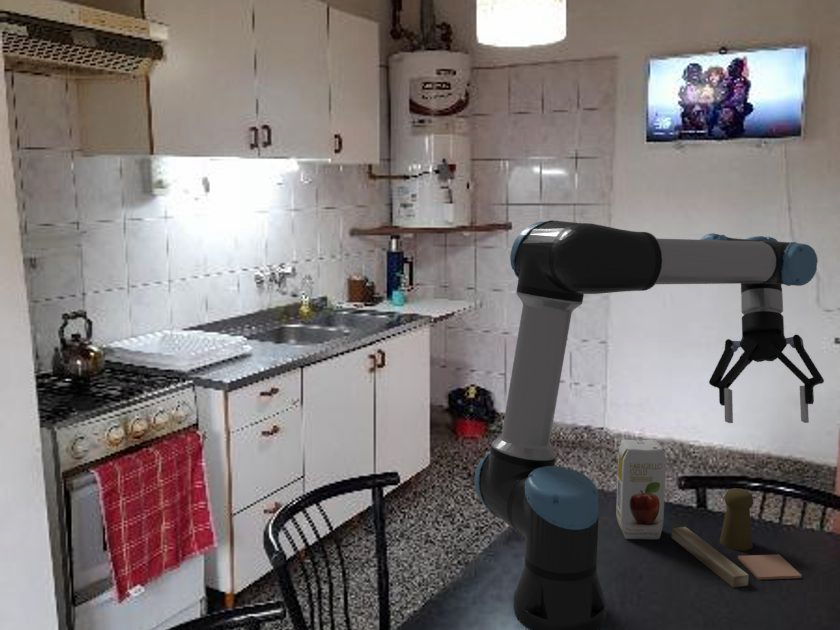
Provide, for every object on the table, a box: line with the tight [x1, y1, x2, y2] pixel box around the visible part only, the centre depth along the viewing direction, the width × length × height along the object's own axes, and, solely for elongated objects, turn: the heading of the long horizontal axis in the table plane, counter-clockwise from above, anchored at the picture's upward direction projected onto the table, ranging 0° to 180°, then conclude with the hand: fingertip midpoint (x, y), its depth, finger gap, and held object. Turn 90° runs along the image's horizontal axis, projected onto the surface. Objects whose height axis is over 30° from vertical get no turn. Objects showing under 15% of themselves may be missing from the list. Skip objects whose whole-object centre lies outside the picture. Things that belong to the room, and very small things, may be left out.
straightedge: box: [671, 526, 750, 588], centre depth 144 cm, size 3×20×2 cm, turn 13°
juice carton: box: [615, 438, 667, 540], centre depth 154 cm, size 8×9×19 cm
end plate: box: [737, 553, 803, 581], centre depth 141 cm, size 8×8×1 cm
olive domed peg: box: [719, 487, 754, 552], centre depth 150 cm, size 6×6×11 cm
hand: (765, 422), depth 146 cm, fingers open, 13 cm apart
